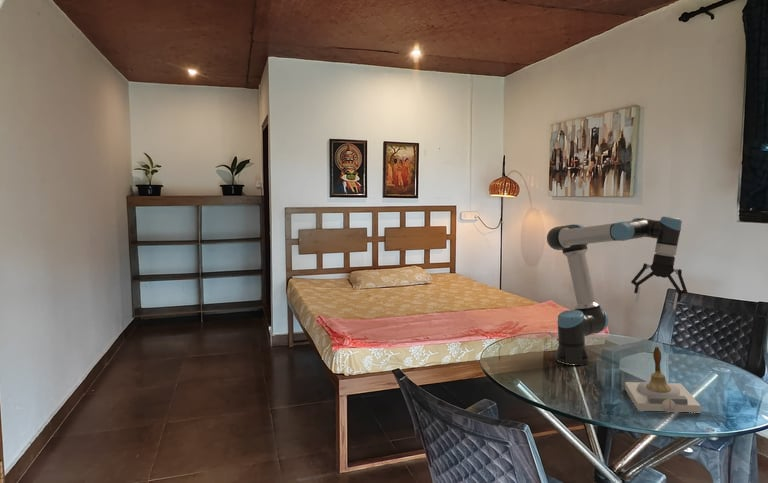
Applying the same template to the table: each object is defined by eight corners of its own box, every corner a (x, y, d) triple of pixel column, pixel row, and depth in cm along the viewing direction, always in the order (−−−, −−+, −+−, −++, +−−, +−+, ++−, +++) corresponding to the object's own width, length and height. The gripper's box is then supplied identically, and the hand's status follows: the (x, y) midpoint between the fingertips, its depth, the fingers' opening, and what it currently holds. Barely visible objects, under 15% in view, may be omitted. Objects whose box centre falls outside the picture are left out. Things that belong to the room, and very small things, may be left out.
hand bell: (665, 394, 176) (664, 352, 175) (642, 388, 183) (640, 347, 181) (675, 388, 181) (674, 346, 180) (652, 382, 188) (651, 342, 186)
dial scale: (638, 411, 173) (637, 398, 172) (625, 389, 193) (624, 377, 192) (701, 414, 168) (700, 400, 167) (681, 390, 187) (680, 378, 187)
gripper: (700, 259, 193) (689, 310, 196) (631, 248, 205) (622, 297, 208) (701, 261, 186) (690, 313, 189) (630, 250, 198) (621, 299, 201)
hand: (655, 305), depth 198 cm, fingers open, 13 cm apart
